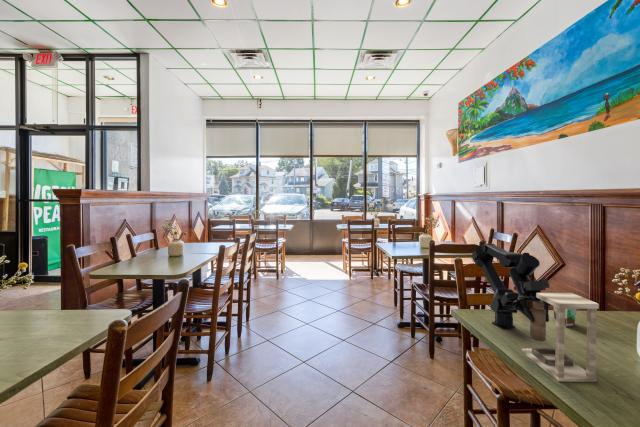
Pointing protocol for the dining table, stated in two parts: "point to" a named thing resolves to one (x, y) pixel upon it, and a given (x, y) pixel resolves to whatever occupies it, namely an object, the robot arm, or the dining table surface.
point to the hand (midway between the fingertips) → (540, 321)
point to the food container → (568, 317)
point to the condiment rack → (555, 357)
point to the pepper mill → (538, 321)
